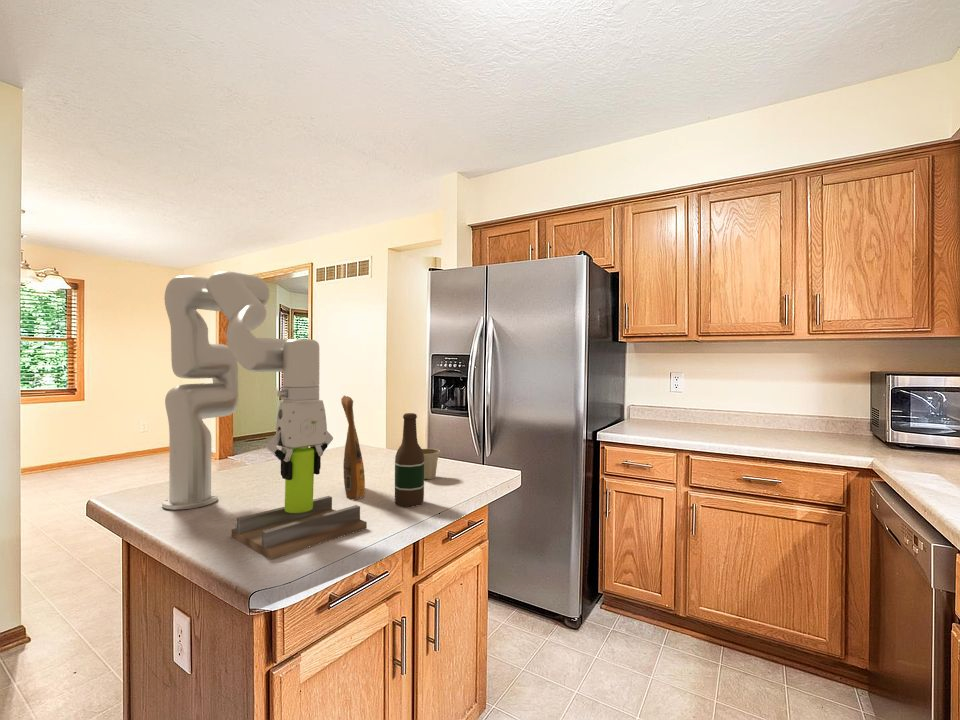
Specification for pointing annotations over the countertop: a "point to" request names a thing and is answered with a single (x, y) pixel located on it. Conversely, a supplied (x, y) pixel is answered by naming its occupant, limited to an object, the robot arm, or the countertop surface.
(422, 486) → the beer bottle
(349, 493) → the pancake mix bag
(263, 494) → the countertop surface
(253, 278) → the robot arm
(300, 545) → the track board
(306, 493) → the soap dispenser
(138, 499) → the countertop surface
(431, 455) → the flower pot
